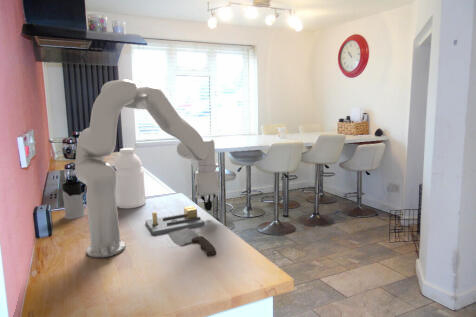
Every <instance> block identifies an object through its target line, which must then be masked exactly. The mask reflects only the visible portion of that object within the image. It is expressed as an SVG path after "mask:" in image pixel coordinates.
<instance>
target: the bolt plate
mask: <svg viewBox="0 0 476 317" xmlns="http://www.w3.org/2000/svg"><path fill="white" fill-rule="evenodd" d="M151 214H152V217H151V219H146V220H145V225H146V226H147V228H148V230H149V231H150V233H151V234H152V235H153V236H158V235H161V234H168V233H167V232H170V231H174V230H178V229H182V228H186V227H187V228H189V229H193V228H197V227H203V226H205V225H206V224H205V223H206V222H205V220H203V219H202V218H201V216H198V215H197V217H195V218H190V219H187V218H185V217H184V213H180V214H174V215H168V216H163V217H158V212H157V211H153V212H152V213H151Z"/></svg>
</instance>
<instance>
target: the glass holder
mask: <svg viewBox="0 0 476 317" xmlns="http://www.w3.org/2000/svg"><path fill="white" fill-rule="evenodd" d="M61 186H62V191H61V192H62V199H63V208H64V219H67V220H71V219H72V220H73V219H74V220H76V219H79V218H82V217H84V216H86V213H85V208H87V203H86V204H84V197H83V195H84V194H86V193H87V185H86V184H85V186H84V192H82V182H80V181H69V182H65V183H62V184H61Z"/></svg>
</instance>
